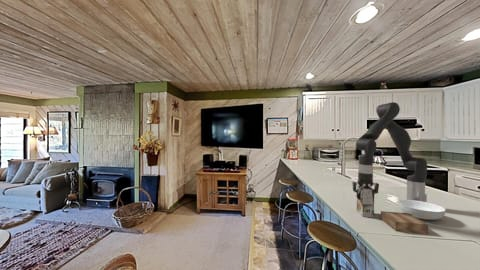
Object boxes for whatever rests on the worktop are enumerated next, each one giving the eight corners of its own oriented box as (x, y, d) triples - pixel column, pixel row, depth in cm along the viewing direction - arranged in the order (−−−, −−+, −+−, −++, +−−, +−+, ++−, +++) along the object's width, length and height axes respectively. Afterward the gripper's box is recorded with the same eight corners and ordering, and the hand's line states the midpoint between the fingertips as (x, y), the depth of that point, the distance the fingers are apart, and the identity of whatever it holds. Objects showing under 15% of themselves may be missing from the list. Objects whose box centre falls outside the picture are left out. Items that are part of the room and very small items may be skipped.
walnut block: (408, 222, 110) (409, 213, 110) (428, 234, 96) (428, 224, 96) (380, 220, 112) (380, 211, 112) (395, 231, 99) (395, 221, 99)
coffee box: (374, 217, 115) (374, 189, 115) (362, 216, 116) (362, 188, 116) (367, 211, 123) (368, 185, 123) (356, 210, 125) (356, 185, 125)
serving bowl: (431, 212, 124) (432, 201, 124) (455, 227, 104) (455, 214, 104) (392, 208, 131) (392, 197, 131) (406, 221, 111) (407, 208, 111)
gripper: (375, 171, 122) (375, 198, 122) (350, 170, 125) (350, 196, 125) (382, 173, 115) (381, 202, 115) (354, 172, 117) (354, 200, 117)
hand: (365, 199), depth 120 cm, fingers closed on coffee box, 6 cm apart
